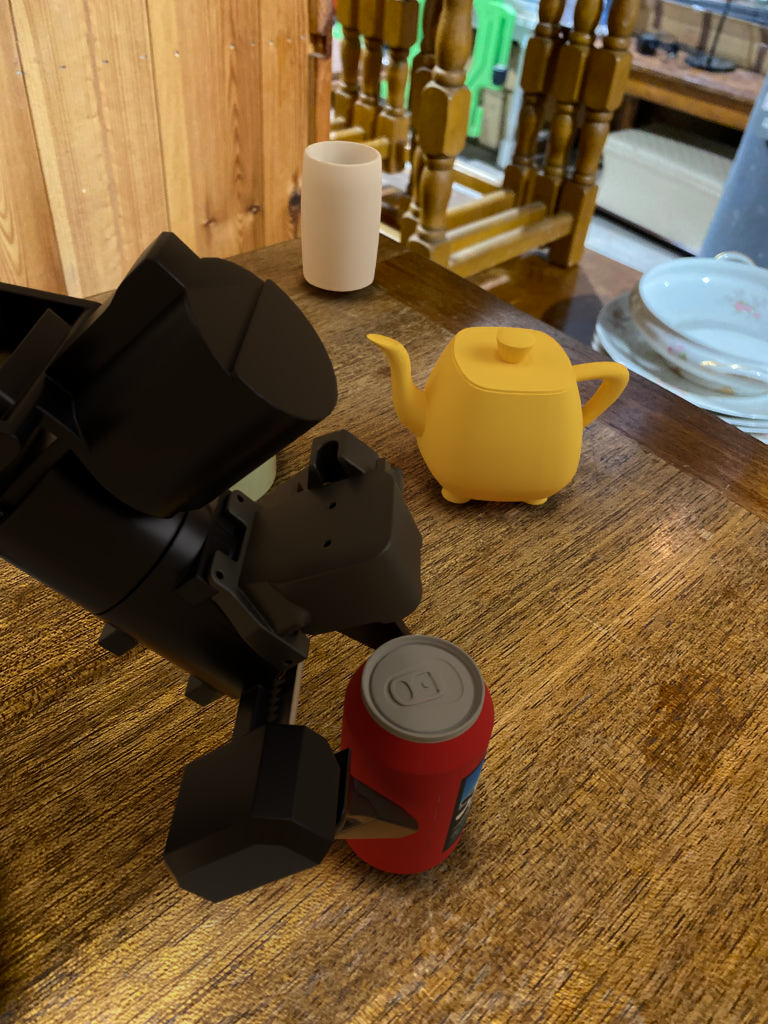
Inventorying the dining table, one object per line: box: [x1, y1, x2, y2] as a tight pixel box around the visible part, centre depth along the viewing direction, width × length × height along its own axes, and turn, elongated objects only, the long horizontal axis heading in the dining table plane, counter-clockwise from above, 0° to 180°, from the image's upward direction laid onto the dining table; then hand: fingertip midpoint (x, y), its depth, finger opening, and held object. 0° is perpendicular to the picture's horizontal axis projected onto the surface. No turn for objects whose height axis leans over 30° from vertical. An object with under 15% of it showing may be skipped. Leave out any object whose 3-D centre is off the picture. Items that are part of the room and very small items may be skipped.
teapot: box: [366, 326, 630, 506], centre depth 60 cm, size 13×20×12 cm
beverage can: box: [339, 634, 495, 875], centre depth 37 cm, size 7×7×12 cm
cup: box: [300, 140, 383, 292], centre depth 83 cm, size 8×8×14 cm
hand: (411, 734), depth 36 cm, fingers open, 9 cm apart
